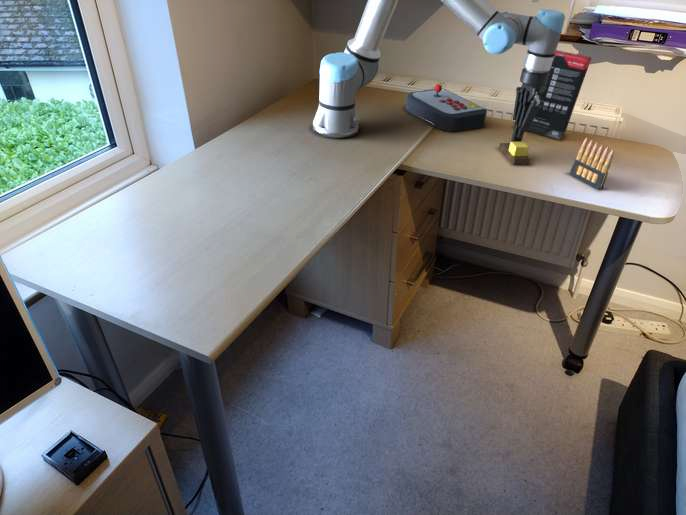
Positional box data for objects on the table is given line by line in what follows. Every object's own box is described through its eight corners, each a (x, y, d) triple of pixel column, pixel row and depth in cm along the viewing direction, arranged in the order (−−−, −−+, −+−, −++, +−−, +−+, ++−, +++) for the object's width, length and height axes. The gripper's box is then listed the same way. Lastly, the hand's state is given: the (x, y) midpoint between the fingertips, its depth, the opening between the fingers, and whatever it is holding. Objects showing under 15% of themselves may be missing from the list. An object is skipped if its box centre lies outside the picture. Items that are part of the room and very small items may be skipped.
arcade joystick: (398, 107, 192) (401, 80, 186) (437, 101, 200) (442, 75, 194) (445, 134, 173) (451, 105, 167) (487, 126, 181) (493, 98, 175)
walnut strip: (498, 148, 166) (500, 142, 165) (512, 148, 167) (514, 142, 165) (513, 165, 156) (515, 159, 155) (528, 164, 157) (530, 159, 156)
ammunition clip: (602, 188, 147) (618, 150, 140) (598, 189, 146) (614, 151, 139) (572, 173, 154) (586, 135, 147) (568, 174, 153) (582, 136, 146)
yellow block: (508, 150, 160) (510, 141, 158) (520, 150, 161) (523, 141, 159) (513, 156, 157) (516, 147, 155) (526, 156, 157) (529, 147, 156)
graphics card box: (565, 135, 179) (593, 55, 163) (561, 141, 174) (589, 59, 158) (518, 123, 186) (540, 45, 170) (512, 128, 181) (534, 48, 165)
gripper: (559, 76, 142) (534, 154, 156) (538, 63, 152) (517, 137, 166) (534, 76, 141) (512, 154, 155) (514, 62, 151) (495, 137, 165)
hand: (514, 145), depth 160 cm, fingers closed
